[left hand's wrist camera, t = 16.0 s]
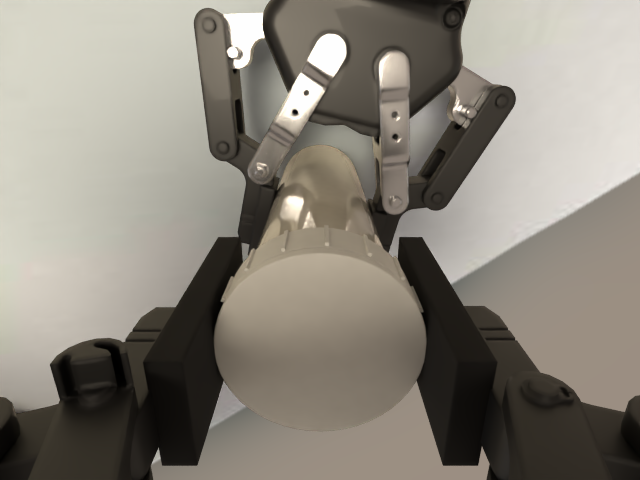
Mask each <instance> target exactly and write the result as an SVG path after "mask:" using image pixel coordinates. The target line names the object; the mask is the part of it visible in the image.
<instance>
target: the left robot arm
mask: <svg viewBox="0 0 640 480" xmlns="http://www.w3.org/2000/svg"><path fill="white" fill-rule="evenodd" d="M398 261H399V264H400V266H401V269H402V270H403V272H404V274H405V276H406V278H407V280H408V282H409V285H410V287H411V286H413V287H414V290H415V292H416V294H417V297H418V299H419V301H420V304H421V306H422V308H423V311H424V312H422V313H421V314H422V317H423V320H424V323H425V327H426V335H427V343H426V353H425V360H424V364H423V367H422V370H421V372H420V374H419V376H418V378H417V383H418V386H419V390H420V393H421V396H422V399H423V402H424V406H425V409H426V412H427V416H428V419H429V422H430V425H431V428H432V432H433V435H434V438H435V441H436V445H437V448H438V451H439V454H440V457H441V461H442V464H443V465H444V466H478V463H479V458H480V453H481V447H483V449H484V452H485V454H486V456H487V459H488V461H489V463H490V465H489V470H488V475H487V480H640V396H635V397H634V398H632V399H631V400H630V401H629V402H628V405H627V408H626V411H625V412H621V411H617V410H612V409H607V408H603V407H598V406H594V405H590V404H586V403H583V402H581V401H580V399H579V397H578V396H577V394H576V393H575V392H574V390H573V389H571V388H570V387H569V386H568V385H566V384H565V383H564V382H563V381H560V380H558V379H556V378H554V377H552V376H550V375H547V374H543V373H540V372H539V370H538V369H537V368H536V366H535V365H534V363H533V362H532V361H531V359H530V358H529V357H528V355H527V354H526V352H525V351H524V350H523V348H522V347H521V346H520V344H519V343H518V341H515V337H514V336H513V335H512V333H511V332H510V331H508V328H507V326H506V325H505V324H504V322H503V321H502V319H501V318H500V317H499V316H498V315H497V314H495V313H494V312H492V311H491V310H489V309H488V308H486V307H485V306H463V304H462V302H461V301H460V299H459V298H458V296H457V294H456V293H455V291H454V289H453V288H452V286H451V284H450V283H449V281H448V279H447V278H446V276H445V274H444V273H443V271H442V270H441V268H440V266H439V265H438V263H437V261H436V260H435V258H434V256H433V255H432V253H431V251H430V250H429V248H428V246H427V245H426V243H425V242H424V240H423V238H422V237H399V249H398ZM242 263H243V259H242V245H241V237H218V239H217V240H216V242H215V244H214V245H213V247H212V249H211V250H210V252H209V253H208V255H207V257H206V258H205V260H204V262H203V263H202V265H201V267H200V268H199V270H198V272H197V273H196V275H195V277H194V278H193V280H192V282H191V283H190V285H189V286H188V288H187V290H186V291H185V293H184V295H183V296H182V298H181V300H180V301H179V303H178V305H177V306H176V307H156V308H155V309H153V310H152V311H150V312H149V313H147V314H146V315H144V316H143V317H141V319H140V320H139V321H138V323H137V324H136V326H135V327H134V328H133V332H131V333H130V334H129V335H128V337H127V338H126V341H125V342H123V343H122V342H121V341H120V340H116V339H111V338H101V339H93V340H89V341H85V342H81V343H79V344H77V345H74V346H72V347H70V348H68V349H66V350H65V351H63V352H62V353H60V354H59V355H57V356H56V358H55V359H54V360H53V361H52V363H51V364H50V367H51V370H52V374H53V377H54V381H55V384H56V387H57V391H58V394H59V398H60V402H59V404H57V405H53V406H50V407H45V408H41V409H36V410H32V411H27V412H23V413H18V414H16V413H15V410H14V407H13V404H12V402H10V401H9V400H8V399H6V398H3V397H0V480H153V476H152V471H151V464H152V461H153V459H154V457H155V454H156V452H157V450H158V447H159V451H160V456H161V462H162V465H163V466H197V465H198V461H199V458H200V455H201V452H202V449H203V445H204V442H205V439H206V436H207V432H208V429H209V426H210V423H211V420H212V416H213V413H214V410H215V407H216V403H217V400H218V397H219V394H220V391H221V387H222V384H223V381H224V379H223V378H222V376H221V374H220V371H219V368H218V366H217V363H216V358H215V350H214V330H215V325H216V321H217V318H218V315H219V312H220V310H221V307H222V305H223V302H221V299H222V296H223V294H224V292H225V289H226V287H227V285H228V282H229V280H230V278H231V276H232V277H235V274H236V273H237V271H238V270H239V268H240V266H241V265H242Z"/></svg>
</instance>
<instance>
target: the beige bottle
mask: <svg viewBox="0 0 640 480" xmlns="http://www.w3.org/2000/svg"><path fill="white" fill-rule="evenodd" d="M324 225H328V226H329V228H335V229H341V230H346V231H349V232H352V233H356V234H359V235H361V236H363V234H365V235H367V237H368V239H369V240H371V241H373V242H374V243H376V244H377V245H379V246H380V247H382V248H383V246H382V243H381V240H380V237H379V235H378V232H377V229H376V226H375V223H374V220H373V218H372V215H371V212H370V209H369V206H368V204H367V201H366V198H365V195H364V192H363V189H362V187H361V184H360V181H359V178H358V175H357V172H356V170H355V167H354V165H353V163H352V162H351V160H350V159H349V158H348V157H347V156H346V155H345V154H344V153H343V152H341V151H340V150H338V149H336V148H334V147H331V146H327V145H313V146H309V147H306V148H304V149H302V150H300V151H299V152H297V153H296V154H295V155H294V156H293V157H292V158H291V159H290V160H289V162H288V164H287V165H286V168H285V170H284V173H283V176H282V179H281V181H280V184H279V187H278V190H277V193H276V196H275V198H274V201H273V204H272V207H271V210H270V213H269V215H268V218H267V221H266V224H265V227H264V230H263V232H262V235H261V238H260V241H259V244H258V247H257V248H259V247H260V246H261V245H263V244H265V243H266V242H268V241H269V240H271V239H273V238H275V237H277V236H280V235H282V234H284V231H286V230H288V231H289V232H291V231H294V230H300V229H305V228H317V227H323V228H324Z"/></svg>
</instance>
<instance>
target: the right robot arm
mask: <svg viewBox="0 0 640 480" xmlns="http://www.w3.org/2000/svg"><path fill="white" fill-rule="evenodd" d="M470 1H471V0H270V2H269V3H268V4H267V6H266V8H265V10H264V13H248V14H221V13H219V12H218V11H216V10H214V9H211V8H205V9H202V10H200V11H199V12H198V13H197V14H196V16H195V19H194V29H195V37H196V45H197V53H198V61H199V69H200V77H201V85H202V92H203V100H204V108H205V116H206V124H207V132H208V140H209V148H210V152H211V154H212V155H213V156H214V157H215V158H216V159H218V160H220V161H227V162H228V163H230V164H232V165H233V166H235V167H237V168H238V169H239V170H240V171H241V172H242V173H243V174H244V176H245V179H246V188H245V194H244V200H243V205H242V211H241V217H240V222H239V228H238V235H239V237H241V242H242V243H246V244H250V246H249V251H248V256H249V254H250V252H251V250H252V249H253V248H254V249H255V250H256V249H257V247H258V244H259V241H260V238H261V235H262V232H263V230H264V227H265V224H266V221H267V218H268V215H269V213H270V210H271V207H272V204H273V201H274V198H275V196H276V193H277V189H278V184H279V179H280V178H278V177H276V174H277V170H278V169H279V167H280V165H281V164H282V162H283V160H284V159H285V157H286V155H287V154H288V152H289V150H290V149H291V147H292V145H293V144H294V142H295V141H296V139H297V138H298V136H299V134H300V132H301V131H302V129H303V127H304V126H305V124H306V122H307V121H310V122H314V123H318V124H322V125H346V126H348V127H349V128H351V129H353V130H355V131H357V132H358V133H360V134H363V135H368V136H372V142H373V153H374V161H375V181H376V191H375V195H374V198H373V200H372V199H368V201H367V204H368V206H369V209H370V212H371V215H372V218H373V220H374V223H375V226H376V229H377V232H378V235H379V237H380V240H381V243H382V246H383V249H384V250H385V251H386V252H388V253H389V249H390V246H391V243H392V240H393V237H394V234H395V231H396V228H397V224H398V221H399V219H400V217H401V216H402V215H403V214H404V213H405V212H406V211H408V210H411V209H417V208H426V207H427V208H429V209H431V210H435V211H436V210H441V209H443V208H445V207H446V206H447V204H448V203H449V202H450V200H451V199H452V197H453V196H454V194H455V193H456V191H457V190H458V188H459V187H460V185H461V184H462V182H463V181H464V179H465V178H466V177H467V175H468V174H469V172H470V171H471V169H472V168H473V166H474V165H475V163H476V162H477V160H478V159H479V157H480V156H481V154H482V153H483V151H484V150H485V148H486V147H487V145H488V144H489V143H490V141H491V140H492V138H493V137H494V135H495V134H496V132H497V131H498V129H499V128H500V126H501V125H502V123H503V122H504V120H505V119H506V117H507V116H508V114H509V113H510V111H511V110H512V109H513V107H514V105H515V101H516V96H515V93H514V91H513V90H512V89H511V88H510V87H507V86H501V85H496V84H491V83H490V82H488V81H486V80H485V79H483V78H482V77H480V76H478V75H477V74H475V73H474V72H472V71H470V70H469V69H467V68H466V67H464V66H462V62H463V54H462V49H461V30H462V25H463V22H464V19H465V16H466V13H467V10H468V7H469V4H470ZM264 39H266V41H267V44H268V46H269V49H270V51H271V53H272V56H273V58H274V60H275V63H276V65H277V68H278V70H279V72H280V75H281V77H282V79H283V82H284V84H285V87H286V89H287V91H288V96H287V97H286V99H285V101H284V103H283V104H282V106H281V108H280V110H279V111H278V113H277V115H276V117H275V118H274V120H273V122H272V124H271V126H270V128H269V130H268V132H267V133H266V135H265V137H264V139H263V140H262V142H261V144H259V143H258V142H256V141H255V140H253V139H251V138H250V137H248V136H247V135H246V134H245V123H244V112H243V102H242V91H241V80H240V70H239V69H242V68H246V67H247V66H249V65H250V64H251V62H252V60H253V52H254V48H255V46H256V44H257V43H258V42H260V41H261V40H264ZM446 88H448V89H449V91H450V102H449V104H448V106H447V116H448V118H449V119H450V120H451V123H450V124H449V126H448V128H447V129H446V131H445V132H444V134H443V136H442V137H441V139H440V140H439V142H438V143H437V145H436V147H435V148H434V150H433V151H432V153H431V155H430V156H429V158H428V159H427V161H426V162H425V164H424V166H423V167H422V169H421V170H420V172H419V174H418V175H417V176H412V177H408V164H409V161H410V127H409V119H410V118H411V117H413V116H414V115H415V114H416V113H417V112H419V111H420V110H421V109H422V108H423V107H424V106H426V105H427V104H428V103H429V102H430V101H432V100H433V99H434V98H435V97H436V96H438V95H439V94H440V93H441V92H442V91H444V90H445V89H446ZM308 119H309V120H308Z"/></svg>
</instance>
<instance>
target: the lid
mask: <svg viewBox="0 0 640 480" xmlns="http://www.w3.org/2000/svg"><path fill="white" fill-rule="evenodd" d="M221 302H223V305H222V307H221V310H220V312H219V315H218V318H217V321H216V325H215V330H214V350H215V358H216V363H217V366H218V368H219V371H220V374H221V376H222V378H223V379H224V381H225V383H226V385H227V386H228V387H229V389H230V390H231V392H232V393H233V394H234V395H235V396H236V397H237V398H238V399H239V400H240V401H241V402H242V403H243V404H244V405H245V406H247V407H248V408H249V409H250V410H252V411H253V412H255V413H256V414H258V415H260V416H261V417H263V418H265V419H267V420H269V421H271V422H274V423H277V424H279V425H282V426H286V427H290V428H294V429H299V430H306V431H335V430H341V429H347V428H351V427H355V426H358V425H361V424H364V423H366V422H369V421H371V420H373V419H375V418H377V417H379V416H381V415H382V414H384V413H386V412H387V411H389V410H390V409H391V408H393V407H394V406H395V405H396V404H397V403H399V402H400V401H401V400H402V399H403V398H404V397H405V395H406V394H407V393H408V392H409V391H410V389H411V388H412V387H413V385H414V384H415V382H416V380H417V378H418V376H419V374H420V372H421V370H422V367H423V364H424V360H425V353H426V343H427V335H426V327H425V323H424V320H423V317H422V314H421V313H422V312H424V311H423V308H422V306H421V304H420V301H419V299H418V297H417V294H416V292H415V290H414V287H413V286H411V287H410V285H409V282H408V280H407V278H406V276H405V274H404V272H403V270H402V269H401V266H400V264H399V261H398V259H397V257H396V256H394V257H392V256H391V255H390V254H389V253H388V252H386V251H385V250H384V249H383V248H382V247H380V246H379V245H377V244H376V243H374V242H373V241H371V240H369V239H368V237H367V235H365V234H363V236H361V235H359V234H356V233H352V232H349V231H346V230H341V229H335V228H329V226H328V225H324V228H323V227H317V228H305V229H300V230H294V231H291V232H289V231H288V230H286V231H284V234H282V235H280V236H277V237H275V238H273V239H271V240H269V241H268V242H266V243H265V244H263V245H261V246H260V247H259V248H257V249H256V250H255V249H254V248H253V249H252V250H251V252H250V254H249V257H248V258H247V259H246V260H245V261H244V262H243V263H242V265H241V266H240V268H239V270H238V271H237V273H236V274H235V277H232V276H231V278H230V280H229V282H228V285H227V287H226V289H225V292H224V294H223V296H222V299H221Z"/></svg>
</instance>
